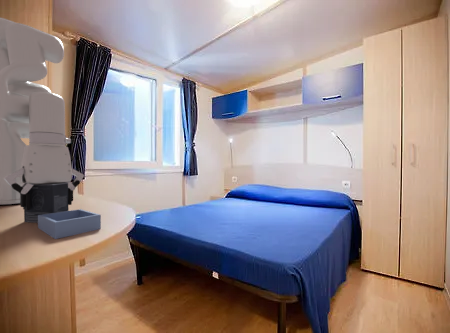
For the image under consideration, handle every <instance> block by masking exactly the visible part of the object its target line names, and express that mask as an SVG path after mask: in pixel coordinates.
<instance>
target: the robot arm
mask: <svg viewBox="0 0 450 333" xmlns="http://www.w3.org/2000/svg"><path fill="white" fill-rule="evenodd" d="M64 57H65V49H64V43H63V42H62V41H61V39H59V38H58V37H57V36H55V35H53V34H50V33H48V32H45V31H42V30H40V29H39V28H38V29H37V28H36V27H33V26H31V25H28V24H24V23H20V22H15V21H13V20H9V19H7V18H4V17H0V205H3V206H4V205H12V204H13V205H14V204H15V205H16V204H20V208H22V210H23V211H24V210H29V209H30V194H28V191H29V190H30V189H31V188H32V186H33V185H39V184H56V183H68V206H72V204H73V203H72V202H73V201H74V190H75V189H76V188H77V187H78V186H79V185H80V184H81V181H82V180H83V178H84V177H85V175H84V174H83V173H81V171H78V170H76V169H74V168H72V161H71V154H70V150H69V147H68V146H66V145H67V144H71V143H72V139H71V138H69V137H67V134H66V103H65V99H64V98H63V97H62V96H60V95H59V94H56V93H53V92H52V91H51V89H50V88H49V87H47V86H46V85H45V84H40V83H36V82H38V81H41V80H43V79H45V78H46V77H47V75H48V68H47V64H46V63H47V62H49V63H53V64H60V63H61V62H62V61H63V59H64ZM46 61H47V62H46ZM23 139H28V140H29V141H28V142H29V143H28V145H27V144H26V143H25V141H24V140H23ZM73 176H74V177H75V179H74V180H73V181H72V178H73ZM71 181H72V182H71Z"/></svg>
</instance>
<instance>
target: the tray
mask: <svg viewBox="0 0 450 333" xmlns="http://www.w3.org/2000/svg"><path fill="white" fill-rule="evenodd" d="M101 215H102V214H100V213H96V212H93V211H92V212H91V211H88V210H85V209H82V208H79V209H74V210H73V209H72V210H71V209H70V210H68V211H64V212H57V213H50V214H43V215H38V223H37V228H38V229H39V230H40V231H42V232H44V233H45V234H47V235H48V236H50V237H51V238H52V239H54V240H58V239H62V238H66V237H71V236H76V235H80V234H84V233H88V232H94V231H96V230H101V228H102V226H101V224H102V221H101V220H102V219H101Z"/></svg>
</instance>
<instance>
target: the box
mask: <svg viewBox="0 0 450 333" xmlns="http://www.w3.org/2000/svg"><path fill="white" fill-rule="evenodd" d="M28 194H30V209H29V210H24V209H23V212H24V213H23V216H24V218H23V222H24V223H31V224H38V215H43V214H50V213H57V212H64V211H69V205H68V183H56V184H39V185H33V186H32V188H31V189H30V190H29V191H28Z"/></svg>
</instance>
